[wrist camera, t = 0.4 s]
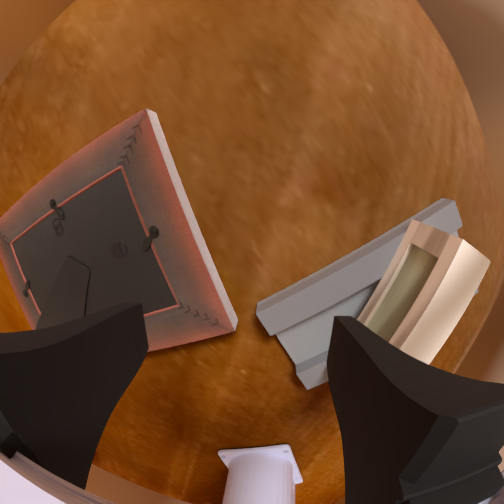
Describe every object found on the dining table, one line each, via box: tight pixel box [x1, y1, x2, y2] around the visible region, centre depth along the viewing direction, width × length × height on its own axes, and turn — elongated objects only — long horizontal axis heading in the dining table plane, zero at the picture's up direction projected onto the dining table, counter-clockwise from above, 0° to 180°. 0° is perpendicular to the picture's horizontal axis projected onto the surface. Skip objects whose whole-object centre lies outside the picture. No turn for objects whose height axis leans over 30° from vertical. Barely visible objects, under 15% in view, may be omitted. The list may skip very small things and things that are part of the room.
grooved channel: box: [256, 198, 478, 390], centre depth 19 cm, size 8×16×2 cm, turn 121°
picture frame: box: [0, 109, 238, 352], centre depth 21 cm, size 16×2×22 cm
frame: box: [357, 219, 491, 365], centre depth 15 cm, size 3×12×6 cm, turn 156°
